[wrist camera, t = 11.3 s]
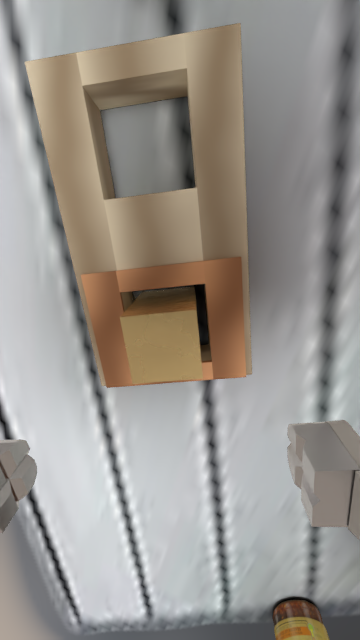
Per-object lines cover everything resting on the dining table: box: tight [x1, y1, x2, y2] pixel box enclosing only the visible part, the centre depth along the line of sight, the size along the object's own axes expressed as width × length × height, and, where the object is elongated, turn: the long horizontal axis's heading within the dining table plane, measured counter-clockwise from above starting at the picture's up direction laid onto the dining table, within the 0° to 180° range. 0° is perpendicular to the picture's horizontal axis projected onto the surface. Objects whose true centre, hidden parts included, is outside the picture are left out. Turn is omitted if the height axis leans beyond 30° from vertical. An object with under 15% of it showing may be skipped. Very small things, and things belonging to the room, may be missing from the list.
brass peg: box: [120, 287, 203, 384], centre depth 19 cm, size 4×4×7 cm
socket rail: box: [25, 23, 252, 388], centre depth 18 cm, size 12×21×3 cm, turn 6°
